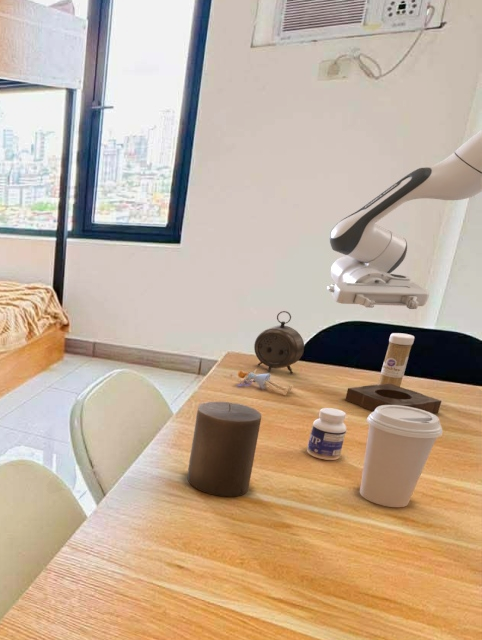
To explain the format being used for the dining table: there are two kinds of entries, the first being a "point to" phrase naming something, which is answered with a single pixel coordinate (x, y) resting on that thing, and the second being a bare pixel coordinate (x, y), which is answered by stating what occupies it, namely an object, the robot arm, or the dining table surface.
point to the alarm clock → (279, 346)
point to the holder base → (391, 397)
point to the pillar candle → (223, 448)
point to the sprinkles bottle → (396, 359)
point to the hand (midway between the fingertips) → (392, 305)
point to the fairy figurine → (263, 381)
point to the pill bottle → (327, 434)
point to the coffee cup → (396, 453)
